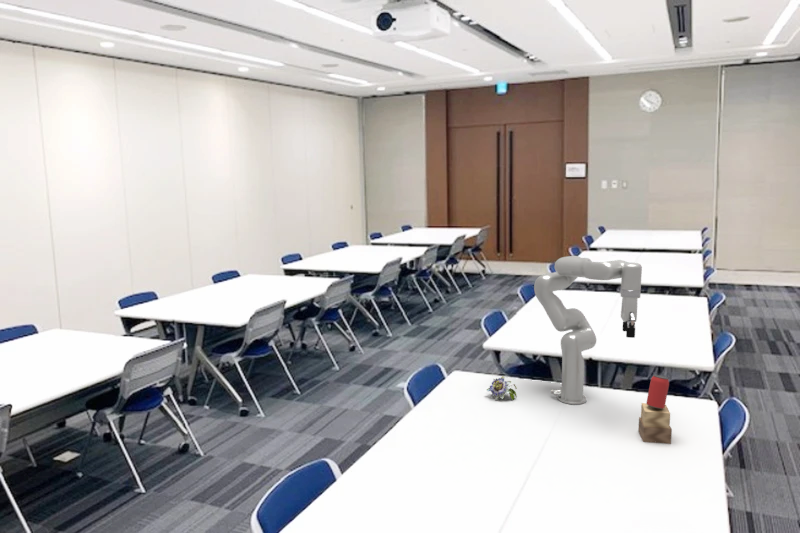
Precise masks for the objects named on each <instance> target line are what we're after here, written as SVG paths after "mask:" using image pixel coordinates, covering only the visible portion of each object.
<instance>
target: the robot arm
mask: <svg viewBox="0 0 800 533" xmlns="http://www.w3.org/2000/svg"><path fill="white" fill-rule="evenodd" d="M642 268H643V267H642V265H641V263H638V262H628V261H625V260H621V259H616V260H610V261H592V260H591V259H590V258H589V257H581V256H579V255H571V256H570V255H569V256H568V255H567V256H563V257H562V256H561V257H560V258H558V259H557V260H556V261H555V263H554V270H555V271H554V272H548V273H544V274H543V273H542V274H541V275H539V276H538V277H537V278H536V279H535V282H534V285H533V289H534V295H535V297H536V299H537V300H538V302H539V303H540V304H541V306H542V308H543V309H544V311H545V312H546V315H547V316H548V318H549V320H550V321H551V324H552V326H553V327H554V329H555V330H556V331H558V332H562V333H563V332H566V333H565V334H564V335H562V336H561V339H560V349H561V358H562V359H561V360H562V361H561V362H562V363H561V387H560V388H558V389H554V388H553V389H550V394H553V395H554V396H557V400H559V402H561V403H563V404H566V405H567V404H569V405H583V404H586V402H587V397H586V396H585V395H584V382H585V381H584V380H585V376H584V375H585V359H584V357H583V354H582V352H584V351H587V350H590V349H591V350H592V349H593V348H594V347H595V346H596V344H597V336H596V334H595V332H594V330H593V328H592V326H591V325H590V323H589V321H588V320H587V318H586V315H585V314H584V313H583V312H582V311H581V310H579V309H578V308H566V307H565V305H564V303H563V301H562V300H561V299H560V297H558V295H556V294H555V293H554V292H556V291H561V290H565V289H568V288H569V287H570V286H571V285H572V284H574V282H575V281H576V280H577V279H578V278H585V279H587V280H588V279H589V280H592V281H593V280H594V281H595V280H596V281H597V280H598V281H610V280H616V279H621V284H620V297H621V299H622V300H621V310H620V318H621V320H622V331H623V332H625V335H626V338H634V339H635V337H636V322H637V320H638V299H641V291H642V288H641V287H642V271H643V270H642ZM567 331H568V332H567Z"/></svg>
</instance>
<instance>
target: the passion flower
mask: <svg viewBox="0 0 800 533" xmlns="http://www.w3.org/2000/svg"><path fill="white" fill-rule="evenodd" d="M510 384H511V385H510ZM512 386H514V388H515V390H517V386H516V384H515V383H513V384H512V381H511V380H507V381H505V376H504V375H502V376H501V377H499V378H497V377H496V378H493V381H492V382H491V385H489V387H488V388H487V389H486V391H487V392H491V393H492V395H491V397H492V398H494V400H495V401H498V400H499V398H500V399H502V400H504V398H505V395H506V394H509V396H510V398H511V400H512V401H515V398H517V397H518V396H517V393H516V392H517V391H515V390H514V389H513V388H512Z"/></svg>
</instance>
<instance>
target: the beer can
mask: <svg viewBox="0 0 800 533" xmlns="http://www.w3.org/2000/svg"><path fill="white" fill-rule="evenodd" d="M652 375H653V376H652V377H651V378H650V383H649V388H648V393H647V397H646V398H647V399H646V403H647V405H648V406H650V407H654V408H658V409H663V408H664V407H665V405H666V402H667V398H668V397H667V396H668V392H669V387H670V381H669V377H667V376H664V375H660V374H652Z"/></svg>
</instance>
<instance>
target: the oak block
mask: <svg viewBox="0 0 800 533" xmlns="http://www.w3.org/2000/svg"><path fill="white" fill-rule="evenodd" d="M640 406H641V409H640V410H641V411H640V417H641V419H642V422H643V425H644V427H657V428H669V426H670V427H671V425H670V423H671V422H670V420H671V412H670V410H669V408H668V406H667V404H665V407H664V408H663V409H658V408H654V407H650V406H648V405H647V402H645V403H644V402H641V405H640Z"/></svg>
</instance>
